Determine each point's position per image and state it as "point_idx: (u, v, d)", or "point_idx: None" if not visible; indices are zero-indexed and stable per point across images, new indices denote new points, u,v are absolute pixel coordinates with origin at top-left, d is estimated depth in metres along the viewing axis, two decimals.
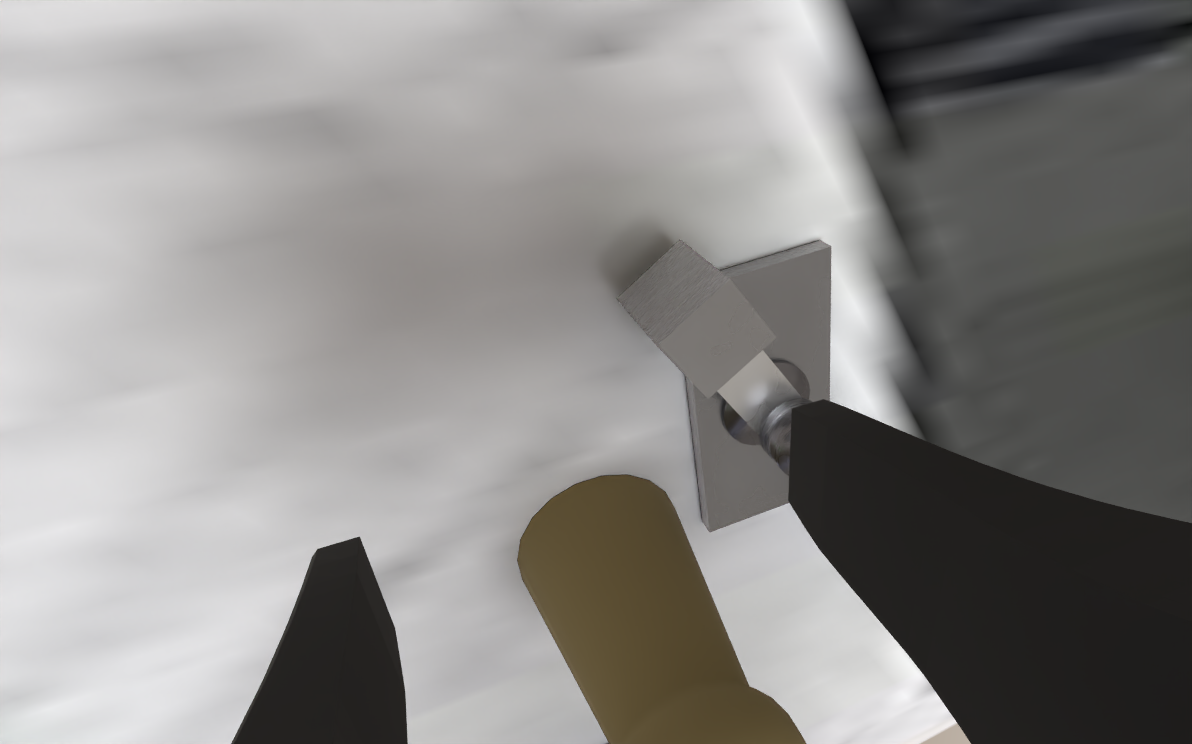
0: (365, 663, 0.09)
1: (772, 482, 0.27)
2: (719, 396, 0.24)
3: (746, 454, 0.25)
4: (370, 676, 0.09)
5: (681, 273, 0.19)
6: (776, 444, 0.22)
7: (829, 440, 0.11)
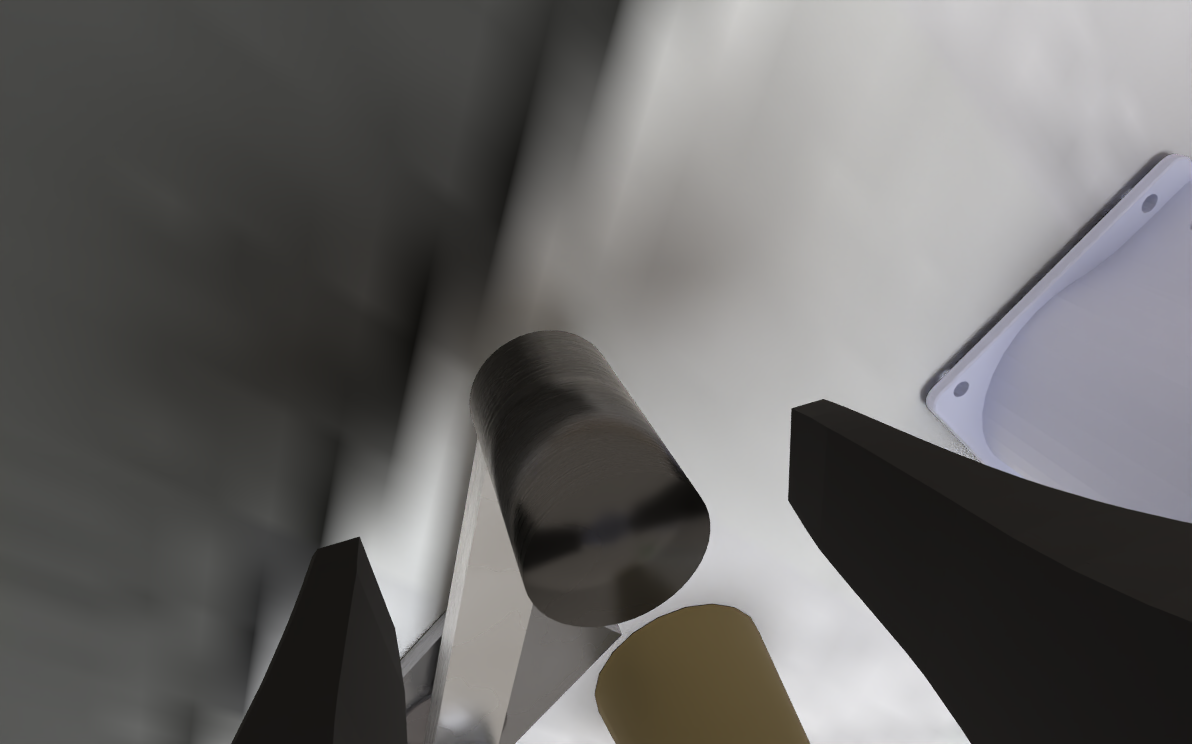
0: (365, 663, 0.09)
1: (528, 637, 0.21)
2: None
3: (515, 686, 0.21)
4: (370, 676, 0.09)
5: None
6: None
7: (829, 440, 0.11)
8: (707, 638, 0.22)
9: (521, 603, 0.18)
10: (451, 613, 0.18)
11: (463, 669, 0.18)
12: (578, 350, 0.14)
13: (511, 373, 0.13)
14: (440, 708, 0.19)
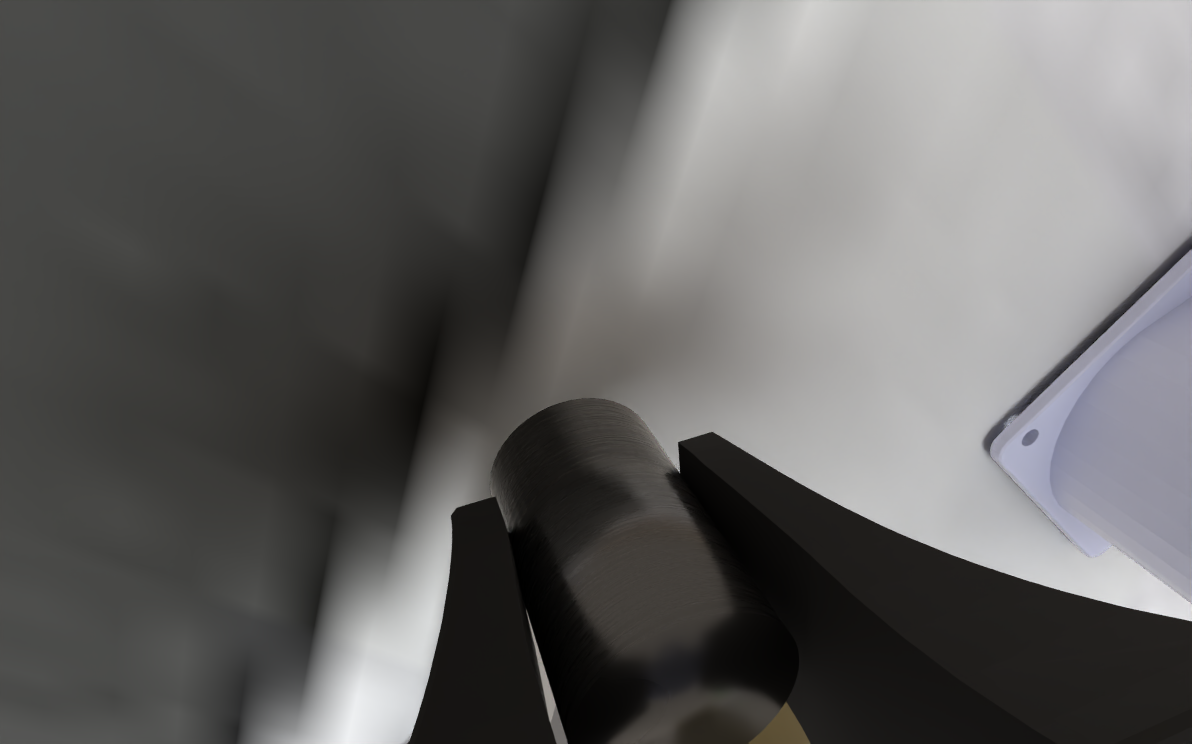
0: (523, 610, 0.09)
1: None
2: None
3: None
4: (526, 623, 0.09)
5: None
6: None
7: (707, 478, 0.11)
8: None
9: (545, 696, 0.15)
10: None
11: None
12: (621, 425, 0.12)
13: (543, 456, 0.11)
14: None
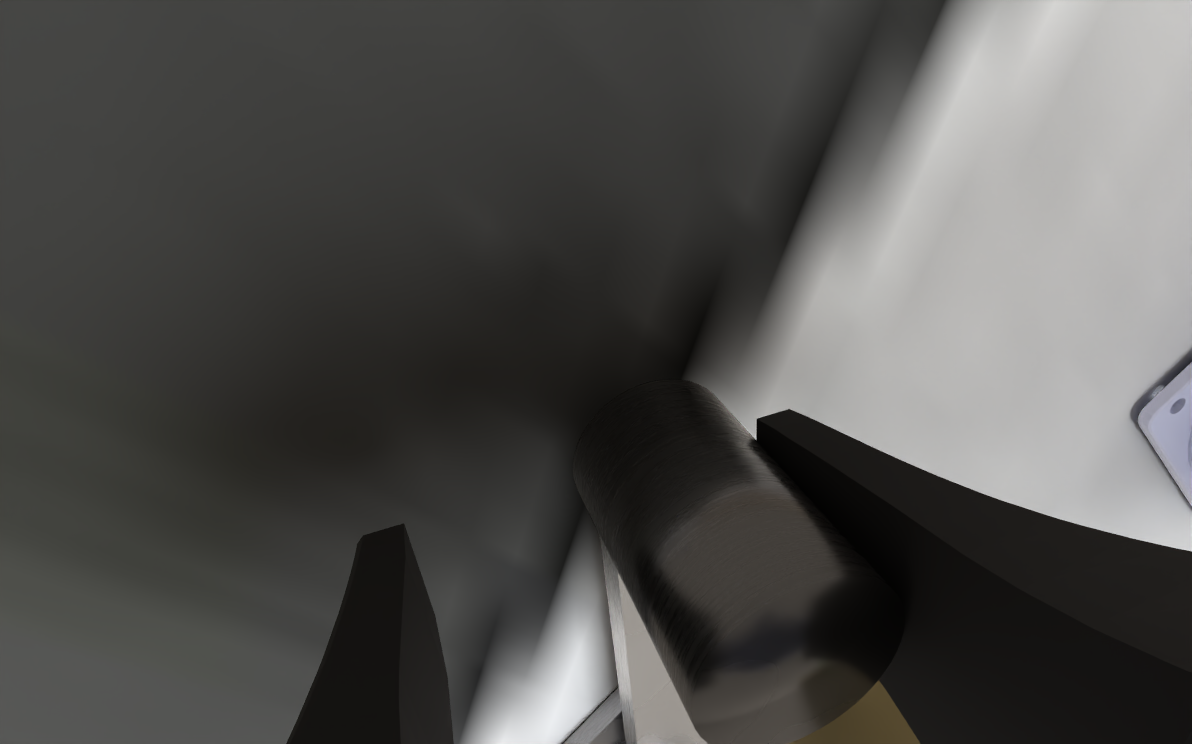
0: (417, 646, 0.09)
1: None
2: None
3: None
4: (421, 659, 0.09)
5: None
6: None
7: (792, 451, 0.11)
8: None
9: None
10: (622, 675, 0.17)
11: (651, 726, 0.17)
12: (680, 403, 0.12)
13: (612, 456, 0.11)
14: None
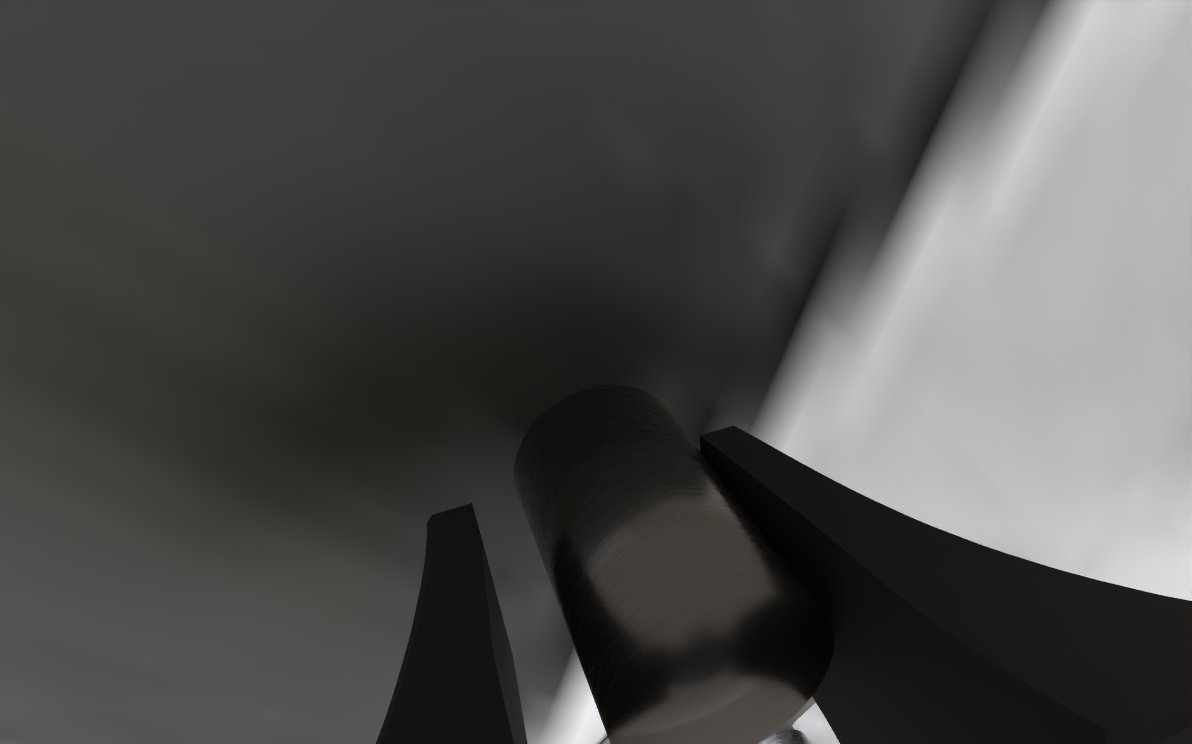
0: (496, 619, 0.09)
1: None
2: None
3: None
4: (499, 632, 0.09)
5: None
6: None
7: (731, 471, 0.11)
8: None
9: None
10: None
11: None
12: (590, 418, 0.11)
13: (533, 489, 0.11)
14: None
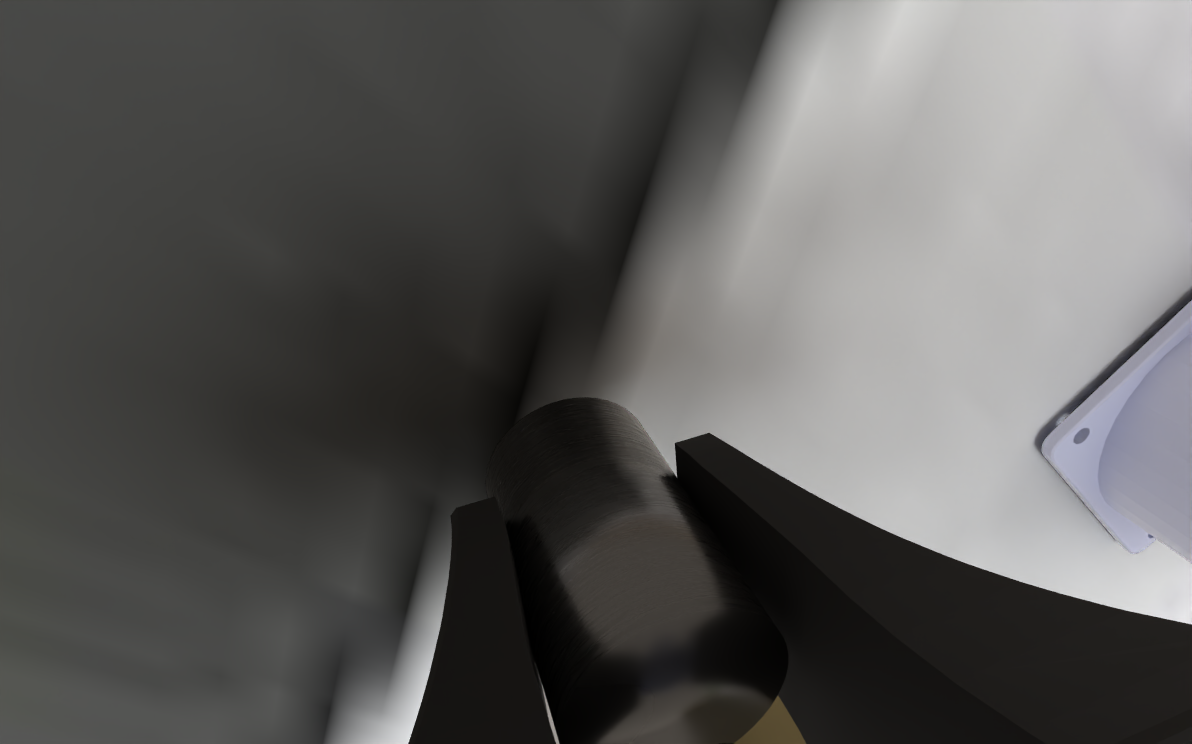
0: (523, 610, 0.09)
1: None
2: None
3: None
4: (526, 623, 0.09)
5: None
6: None
7: (704, 479, 0.11)
8: None
9: None
10: None
11: None
12: (602, 422, 0.12)
13: (525, 464, 0.11)
14: None
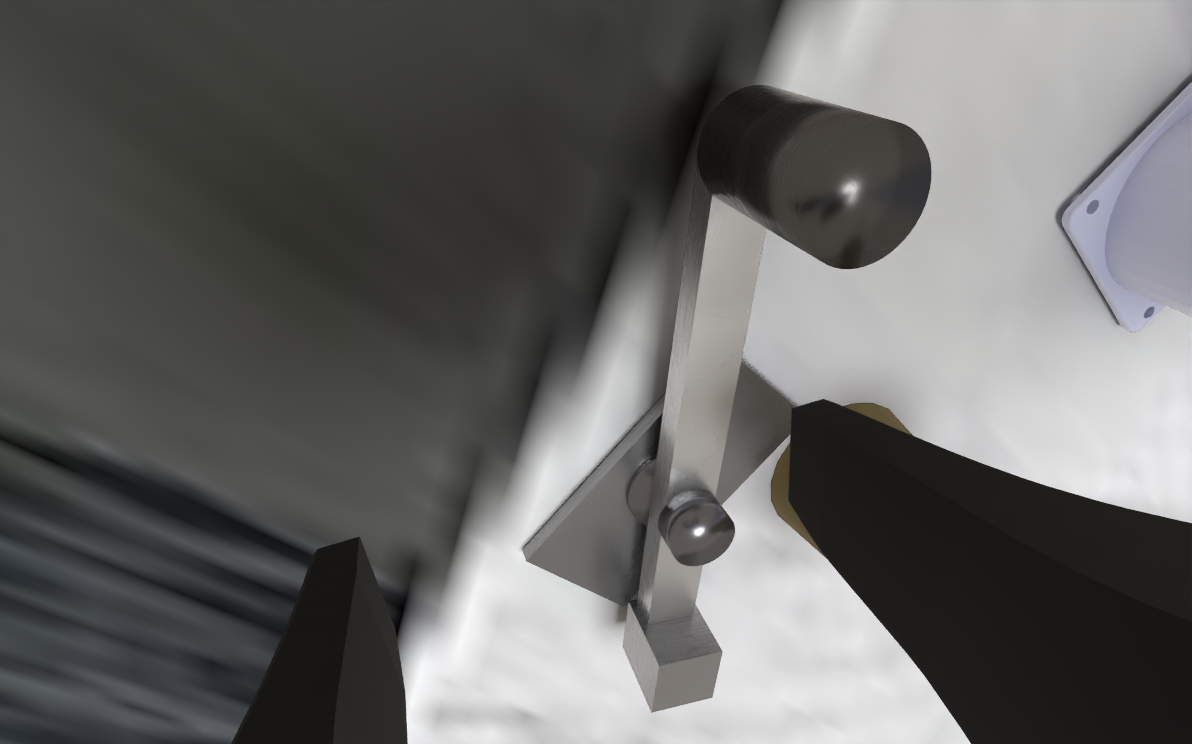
0: (365, 663, 0.09)
1: (738, 408, 0.25)
2: None
3: None
4: (370, 676, 0.09)
5: None
6: None
7: (829, 440, 0.11)
8: None
9: (734, 347, 0.21)
10: (677, 365, 0.22)
11: (691, 412, 0.22)
12: (786, 91, 0.17)
13: (740, 110, 0.17)
14: (673, 450, 0.23)
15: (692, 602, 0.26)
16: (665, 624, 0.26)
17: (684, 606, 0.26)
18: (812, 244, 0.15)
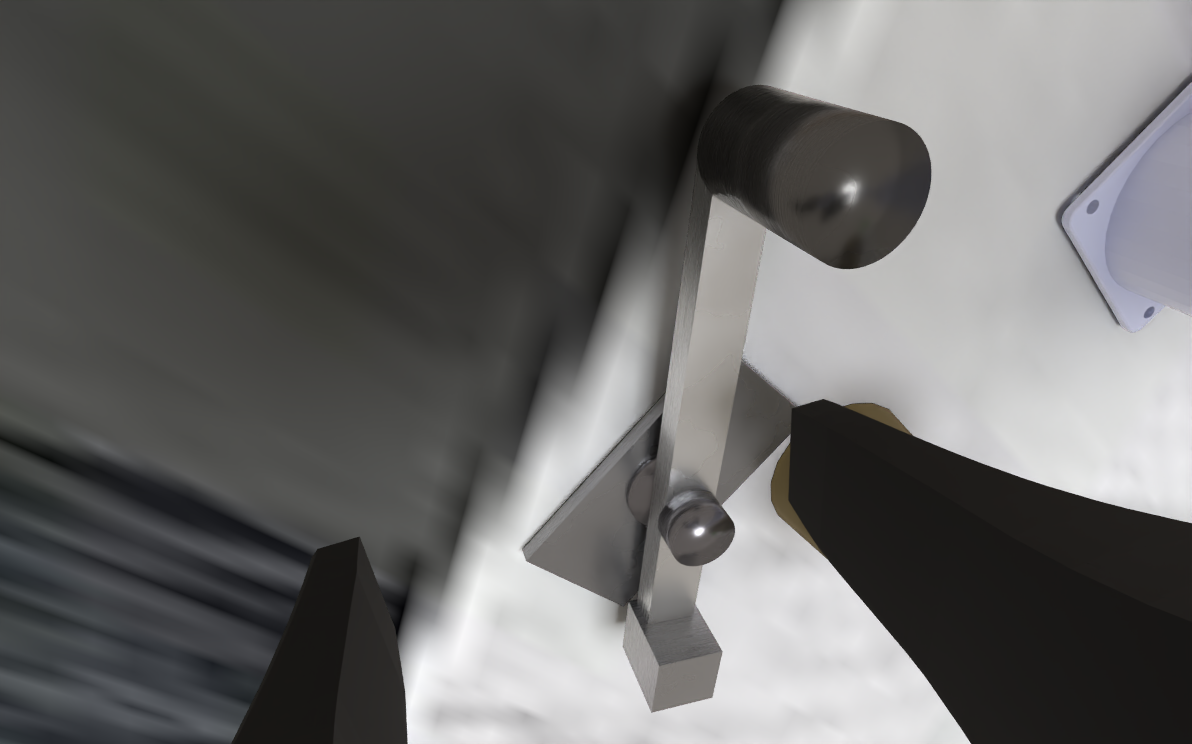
0: (365, 663, 0.09)
1: (738, 408, 0.25)
2: None
3: None
4: (370, 676, 0.09)
5: None
6: None
7: (829, 440, 0.11)
8: None
9: (734, 347, 0.21)
10: (677, 365, 0.22)
11: (691, 412, 0.22)
12: (786, 91, 0.17)
13: (740, 110, 0.17)
14: (673, 450, 0.23)
15: (692, 602, 0.26)
16: (665, 624, 0.26)
17: (684, 606, 0.26)
18: (812, 244, 0.15)
